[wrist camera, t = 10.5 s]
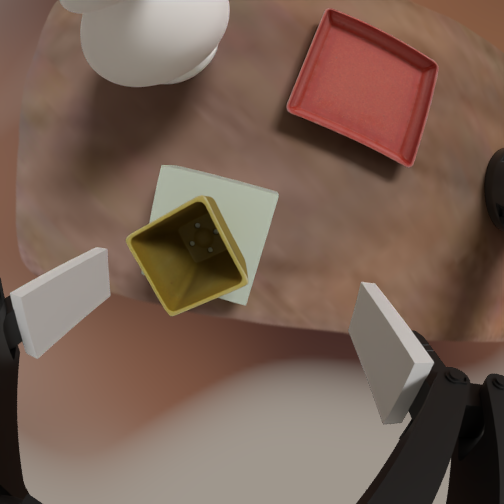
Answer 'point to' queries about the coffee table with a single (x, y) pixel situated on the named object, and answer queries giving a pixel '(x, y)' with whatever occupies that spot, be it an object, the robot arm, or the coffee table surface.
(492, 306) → the coffee table surface
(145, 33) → the decorative vase
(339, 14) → the plant saucer
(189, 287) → the flower pot
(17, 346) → the robot arm
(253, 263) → the sage block
